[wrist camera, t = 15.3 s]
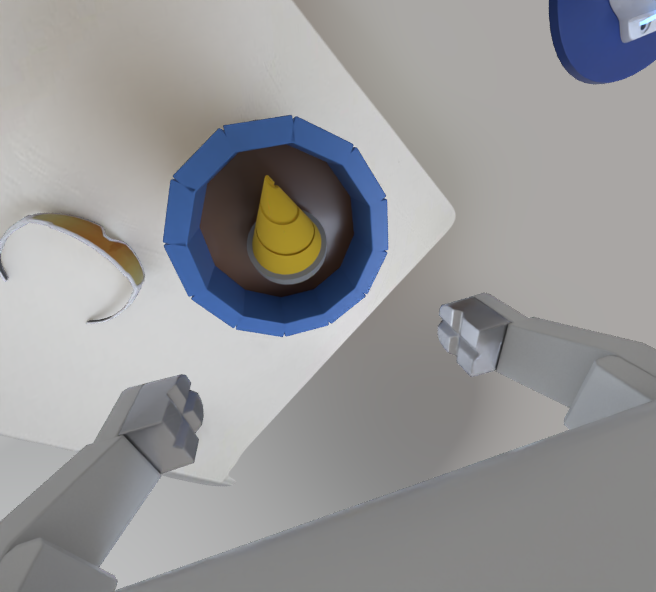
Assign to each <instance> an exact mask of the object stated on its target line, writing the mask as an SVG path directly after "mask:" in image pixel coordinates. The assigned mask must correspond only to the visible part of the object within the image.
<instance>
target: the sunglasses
mask: <svg viewBox="0 0 656 592" xmlns="http://www.w3.org/2000/svg"><path fill="white" fill-rule="evenodd" d="M29 222H30V223H37V224H42V225H46V226H49V227H50V228H52V229H55V230H58V231H60V232H63V233H65V234H68V235H70V236H72V237H74V238H76V239H78V240H80V241H81V242H83V243H85V244H86V245H88V246H90V247H91V248H93V249H95V250H96V251H97V252H99V253H100V254H101V255H103V256H104V257H106V258H107V259H108V260H109V261H110V262H112V263H113V264H114V265H115V266H116V267H117V268H118V269H119V270H120V271H121V272H122V274H123V275H124V276H126V277H127V278H128V280H129V281H130V283H131V285H132V287H133V292H132V294H131V297H130V299H129V301H128V302H127V304H126V305H125V306H124V308H122V309H121V310H120V311H119V312H117V313H116V314H114V315H112V316H110V317H108V318H104V319H99V320H89V321H87V322H86V324H93V323H101V322H105V321H108V320H111V319H113V318H115V317H116V316H118V315H119V314H120V313H122V312H123V311H124V310H125V309H127V308H128V307H129V305H130V304H131V303H132V302H133V301H134V300H135V298H136V297H137V295H138V293H139V291H140V289H141V286H142V284H143V282H144V279H145V274H144V270H143V267H142V265H141V262H140V260H139V259H138V257H137V255H136V254H135V253H134V251H133V250H132V249H131V248H130V247H129V246H128V245H127V244H126V243H125V242H122V241H120V240H114V239H111V238H109V237H108V236H106V234H105V229H104V228H103V227H102V226H101V225H99V224H97V223H95V222H92V221H90V220H87V219H84V218H81V217H77V216H72V215H67V214H60V213H37V214H33V215H28V216H26V217H24V218H23V219H21V220H19V221H18V222H16V223H15V224H13V225H12V226H11V227H10V228H9V229H8V230H7V231H6V232H5V233H4V235H3V236H2V238H1V239H0V276H1V277H2V279H3V280H4V281H5V282H6V281H7V280H8V276H7V274H6V273H5V270H4V268H3V266H2V263H1V252H2V249H3V247H4V245H5V242H6V239H7V238H8V237H9V235H10V234H12V233H13V232H14V231H16V230H17V229H19V228H21V227H23V226H24V225H26V224H28V223H29Z"/></svg>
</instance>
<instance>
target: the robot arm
mask: <svg viewBox="0 0 656 592" xmlns="http://www.w3.org/2000/svg"><path fill="white" fill-rule="evenodd" d="M609 1H610V5H611V7H612V9H613V11H614V13H615V14H616V16H617V17H618V20H619V25H620V37H621V40H622V42H623V43H627V42H630V41H632V40H635V39H637V38H640V37H642V36H645V35H647V34H649V33H652V32H654V31H656V0H609ZM439 316H440V317H441V318H442V319H443V320H442V321H441V323H440V324H439V325H438V337H439V341H440V343H441V344H442V346H443V348H444V349H445V350H446V351H447V352H448V353H450V354H452V355H455V356H457V363H458V364H459V365H460V366H461V367H462V368H463V369H464V371H465V372H467V374H468V375H469V376H470V377H474V376H477V375H481V374H484V373H488V372H491V371H495V370H496V372H498V373H500V374H502V375H504V376H506V377H508V378H510V379H512V380H514V381H516V382H518V383H520V384H522V385H524V386H526V387H528V388H530V389H532V390H534V391H536V392H538V393H541V394H543V395H545V396H547V397H549V398H551V399H553V400H555V401H557V402H559V403H561V404H563V405H565V406H567V407H569V408H570V409H569V411H568V413H567V414H566V416H565V418H564V425H565V426H566V427H567V428H569V430H568V431H565V432H562V433H559V434H556V435H553V436H551V437H548V438H545V439H542V440H540V441H536V442H534V443H531V444H528V445H525V446H522V447H520V448H516V449H514V450H511V451H508V452H506V453H502V454H499V455H497V456H494V457H491V458H488V459H486V460H483V461H480V462H477V463H474V464H472V465H468V466H466V467H463V468H460V469H457V470H454V471H451V472H449V473H446V474H443V475H440V476H437V477H434V478H432V479H429V480H426V481H423V482H420V483H417V484H415V485H412V486H409V487H406V488H403V489H401V490H398V491H395V492H392V493H389V494H387V495H383V496H381V497H378V498H375V499H372V500H369V501H366V502H364V503H361V504H358V505H355V506H353V507H350V508H347V509H344V510H341V511H338V512H335V513H333V514H330V515H327V516H324V517H322V518H318V519H316V520H313V521H310V522H307V523H304V524H301V525H299V526H296V527H293V528H290V529H287V530H285V531H282V532H279V533H276V534H273V535H270V536H268V537H265V538H262V539H259V540H256V541H254V542H251V543H248V544H245V545H242V546H239V547H237V548H234V549H231V550H228V551H226V552H222V553H220V554H217V555H214V556H211V557H208V558H205V559H203V560H200V561H197V562H194V563H191V564H189V565H186V566H183V567H180V568H177V569H175V570H171V571H169V572H166V573H163V574H160V575H157V576H155V577H152V578H149V579H146V580H143V581H141V582H138V583H135V584H132V585H129V586H126V587H123V588H121V589H118V590H115V588H116V585H117V579H116V577H115V576H114V575H113V574H110V573H109V572H107V571H105V570H103V569H101V568H99V567H100V565H101V564H102V562H103V561H104V559H105V558H106V557H107V555H108V554H109V552H110V550H111V549H112V548H113V546H114V545H115V543H116V542H117V540H118V539H119V537H120V536H121V534H122V533H123V532H124V530H125V529H126V527H127V526H128V524H129V523H130V521H131V520H132V518H133V517H134V515H135V514H136V513H137V511H138V510H139V508H140V506H141V505H142V504H143V502H144V501H145V499H146V498H147V496H148V495H149V493H150V492H151V491H152V489H153V488H154V486H155V485H156V483H157V482H158V480H159V479H160V477H161V474H162V473H165V472H168V471H171V470H174V469H177V468H180V467H183V466H186V465H189V464H192V463H194V460H195V456H196V451H197V446H198V441H199V439H198V437H197V436H196V434H195V433H196V432H197V430H198V429H199V428H200V427H201V425H202V421H203V416H204V415H203V404H202V401H201V398H200V397H199V395H198V393H196V392H194V391H191V390H189V389H190V385H191V382H190V380H189V379H188V378H187V376H186V375H182V374H181V375H177V376H173V377H169V378H165V379H161V380H157V381H153V382H149V383H146V384H142V385H138V386H134V387H130V388H127V389H126V390H124V391H123V392H122V393H121V395H120V397H119V398H118V400H117V402H116V404H115V405H114V407H113V409H112V411H111V412H110V414H109V416H108V418H107V420H106V421H105V423H104V425H103V427H102V428H101V430H100V432H99V434H98V435H97V437H96V439H95V441H94V443H92V444H89V445H86V446H85V447H84V448H83V449H82V450H80V451H79V452H78V453H77V454H76V455H75V456H74V457H73V458H72V459H70V460H69V461H68V462H67V463H66V464H65V465H63V466H62V467H61V468H60V469H59V470H58V471H57V472H56V473H55V474H53V475H52V476H51V477H50V478H49V479H48V480H47V481H46V482H44V483H43V484H42V485H41V486H40V487H39V488H38V489H36V491H34V492H33V493H32V494H31V495H30V496H29V497H27V498H26V499H25V500H24V501H23V502H22V503H21V504H20V505H18V506H17V507H16V508H15V509H14V510H13V511H12V512H10V514H8V515H7V516H6V517H5V518H4V519H3V520H1V521H0V592H656V349H654V348H652V347H650V346H648V345H646V344H644V343H641V342H637V341H633V340H629V339H625V338H620V337H616V336H612V335H608V334H603V333H599V332H595V331H591V330H586V329H582V328H578V327H573V326H569V325H565V324H561V323H557V322H552V321H548V320H544V319H540V318H535V317H531V318H527V317H526V316H524V315H523V314H521V313H520V312H518V311H516V310H515V309H513V308H512V307H510V306H508V305H506V304H505V303H504V302H502V301H500V300H498V299H497V298H495V297H494V296H492V295H491V294H488V293H481V294H478V295H474V296H471V297H469V298H465V299H461V300H458V301H454V302H451V303H447V304H443V305H442V306H441V307H440V310H439Z"/></svg>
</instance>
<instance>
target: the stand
mask: <svg viewBox="0 0 656 592" xmlns="http://www.w3.org/2000/svg"><path fill="white" fill-rule="evenodd" d="M261 120H262V119H261ZM253 121H255V120H253ZM266 175H268V176H269V177H270V178H271V179H272V180H273V181H274V182H275V183H274V185H278V186H279V187H280V188H281V189H282V190H283V191H284V192H285V193H286V194H287V195H288V197H289V198H290V199H291V200H292V201H293V202H294V203H295V204H296V205H297V206H298V207H299V208H300V209H301V210H304V211H306V212H308V213H310V214H312V215H313V216H314V217H315V218H317V220H318V221H319V222H320V223H321V225H322V226H323V228H324V230H325V234H326V240H327V251H326V257H325V260H324V262H323V264H322V266H321V267H320V269H319V270H318V271H317V272H316V273H315V274H314V275H313V276H312V277H310V278H309V279H307V280H305V281H303V282H300V283H296V284H286V285H285V284H278V283H275V282H272V281H270V280H268V279H266V278H265V277H263V276H262V275H261V274H260V273H259V272H258V271H257V269H256V268H255V266H254V265H253V263H252V262H251V260H250V258H249V256H248V252H247V238H248V234H249V232H250V230H251V228H252V226H253V225H254V224H255V222H256V220H257V214H258V209H259V204H260V199H261V194H262V189H263V184H264V179H265V176H266ZM200 230H201V232H202V234H203V237H204V239H205V242H206V244H207V247H208V249H209V252H210V254H211V257H212V259H213V262H214V264H215V266H216V267H218V268H219V269H220V270H221V271H222V272H224V273H225V274H226V275H227V276H229V277H230V278H231V279H232V280H234V281H235V282H236V283H237V284H238V285H240V286H241V287H242V288H243V289H245V290H249V291H253V292H258V293H263V294H267V295H272V296H276V297H285V296H289V295H293V294H297V293H301V292H305V291H309V290H313V289H315V288H316V287H317V286H318V285H320V284H321V283H322V282H323V281H324V280H326V279H327V278H328V277H329V276H330V275H331V274H333V273H334V272H335V271H336V270H337V269H339V268H340V266H341V264H342V262H343V259H344V257H345V255H346V252H347V250H348V248H349V245H350V243H351V240H352V238H353V236H354V229H353V218H352V208H351V197H350V195H349V194H348V192H347V191H346V190H345V188H344V187H343V185H342V184H341V182H340V181H339V179H338V178H337V177H336V175H335V174H334V172H333V171H332V169H331V168H330V167H329V165H328V164H327V162H325V161H323V160H321V159H318V158H316V157H314V156H312V155H309V154H307V153H305V152H303V151H300V150H298V149H296V148H294V147H291V146H289V145H287V144H284V145H278V146H272V147H266V148H260V149H254V150H248V151H243V152H239V153H238V154H237V155H235V156H234V157H233V158H232V159H231V160H230V161H229V162H228V163H227V164H226V165H225V166H224V167H223V168H222V169H221V170H220V171H219V172H218V173H217V174H216V175H215V176H214V177H213V178H212V179H211V180H210V181H209V182H208V183H207V188H206V193H205V199H204V204H203V210H202V216H201V221H200Z"/></svg>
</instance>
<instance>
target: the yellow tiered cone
mask: <svg viewBox="0 0 656 592" xmlns="http://www.w3.org/2000/svg"><path fill="white" fill-rule="evenodd" d="M274 183H275V182H274V181H273V180H272V179H271V178H270V177H269V176H268V175H266V176H265V179H264V184H263V189H262V194H261V199H260V204H259V209H258V214H257V220H256V222H255V224H254V225H253V226H252V228H251V230H250V232H249V234H248V238H247V252H248V256H249V258H250V260H251V262H252V263H253V265H254V266H255V268H256V269H257V271H258V272H259V273H260V274H261V275H262V276H263V277H265V278H266V279H268V280H270V281H272V282H275V283H278V284H285V285H286V284H296V283H300V282H303V281H305V280H307V279H309V278H310V277H312V276H313V275H314V274H315V273H316V272H317V271H318V270H319V269H320V267H321V266H322V264H323V262H324V260H325V257H326V251H327V240H326V234H325V230H324V228H323V226H322V225H321V223H320V222H319V221H318V220H317V218H315V217H314V216H313V215H312V214H310V213H308V212H306V211H304V210H301V209H300V208H299V207H298V206H297V205H296V204H295V203H294V202H293V201H292V200H291V199H290V198H289V197H288V195H287V194H286V193H285V192H284V191H283V190H282V189H281V188H280V187H279V186H278V185H274Z"/></svg>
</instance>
